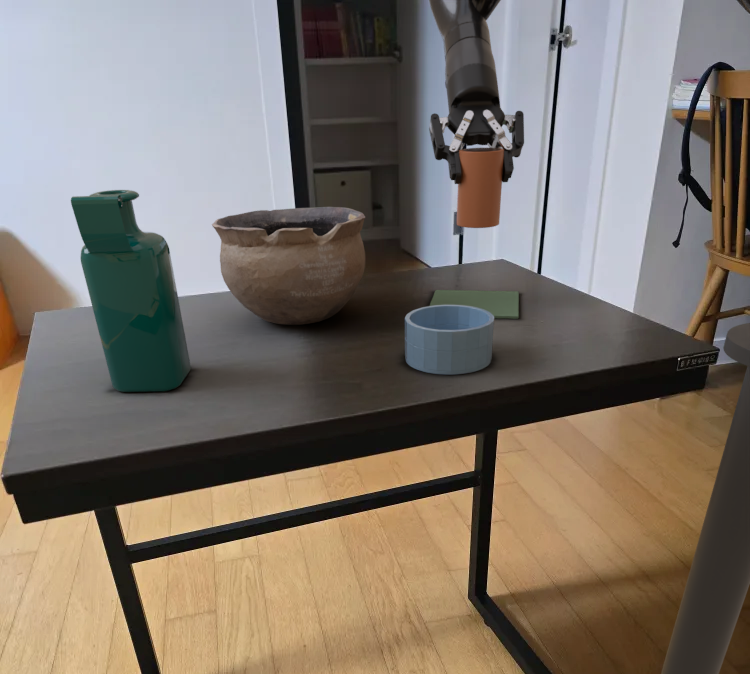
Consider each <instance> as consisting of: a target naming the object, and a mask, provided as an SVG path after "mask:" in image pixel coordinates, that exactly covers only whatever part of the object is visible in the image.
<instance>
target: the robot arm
mask: <svg viewBox="0 0 750 674" xmlns="http://www.w3.org/2000/svg"><path fill="white" fill-rule="evenodd" d="M501 1H502V0H428V3H429V8H430V10H431V13H432V17H433V19H434V22H435V25H436V27H437V30H438V31H439V34H440V37H441V40H442V42H443V51H444V52H443V53H444V61H445V62H444V63H445V67H444V77H445V82H444V86H445V89H446V96H447V98H446V99H447V107H448V115H447V116H443V117H442V116H441V117H440V115H439V114H438V113H432V114H431V115H430V119H429V128H428V131H429V136H430V141H431V146H432V151H433V155H434V159H435V160H436V161H441V160H445V161H446V162H447V164H448V174H449V179H450V180H451V181H453V182H454V185H458V184H460V180H461V164H460V156H459V150H461V149H464V146H465V145H466V147H469V146H475V145H480V146H488V148H501V149H504V159H503V174H502V183H508V182H509V179H511V178H512V176H513V172H514V169H515V167H514V166H515V165H514V159H513V158H519V157H520V156H521V155H522V154H521V153H522V150H523V147H524V145H525V117H524V115H525V114H524V112H523V111H522V110H516V112H515V113H514V114H505V112H504V111H503V109H502V107H501V100H500V92H499V83H498V75H497V68H496V62H495V58H494V55H493V50H492V41H491V35H490V29H489V25H488V22H487V20H488V19H489V18H490V17H491V15H492V14H493V12H494V11H495V9H496V8H497V6H498V5H499V4H500V2H501ZM734 1H735V2H736V3H737V4H738V5H739V7H741V8H742V10H743V11H744V12H745V13H746V14H747V15H749V16H750V0H734ZM503 126H506V128H507V130H508V133H509V134H511V141H510V140H509V139H508V137H507V136H506V132H505V130H504V129H503ZM446 128H447V129H448V130H449V131H450V132H451V133H452V134H453V135H454V137H453V140H452V141H451V143H450V145H447V144H446V142H445V139H444V138H445V137H444V133H445V129H446Z"/></svg>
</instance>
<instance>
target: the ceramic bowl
mask: <svg viewBox="0 0 750 674" xmlns="http://www.w3.org/2000/svg"><path fill="white" fill-rule="evenodd" d="M365 219H366V216H365V214H364V213H363V212H361V211H359V210H355V209H353V208H351V207H350V208H349V207H341V206H321V207H317V206H316V207H295V208H283V209H281V208H280V209H272V210H268V209H259V210H252V211H248V212H242V213H237V214H232V215H228V216H227V215H226V216H225V217H220V218H216V220H215V221H214V222H213V223H212V224H211V226H212V228H213V229H214V230H215V232H216V233H217V235H218V237H219V238H220V252H219V265H220V273H221V276H222V279H223V282H224V283H225V285H226V287H227V288H228V290H229V291H230V293H231V295H232V296H233V297H234V298H235V299H236V300H237V301H238V302H239V303H240V304H241V305H242V306H243V307H244V308H245V309H246V310H248V311H249V312H251V313H253V315H255V316H257V317H258V318H260V319H261V320H264V321H265V322H268V323H272V324H273V323H274V324H278V325H287V326H288V325H289V326H292V325H293V326H297V325H298V326H300V325H309V324H315V323H320V322H323V321H325V320H328V319H330V318H332V317H333V316H335V315H337V313H339V312H340V311H341V310H342V309H343V308H344V307H345V306H346V304H347V303H348V302H349V301H350V299H352V297H353V295H354V294H355V292H356V290H357V288H358V286H359V284H360V282H361V280H362V279H363V277H364V276H363V275H364V272H365V268H366V251H365V247H364V242H363V239H362V235H361V231H362V230H363V226H364V224H365V223H364V222H365Z"/></svg>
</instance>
